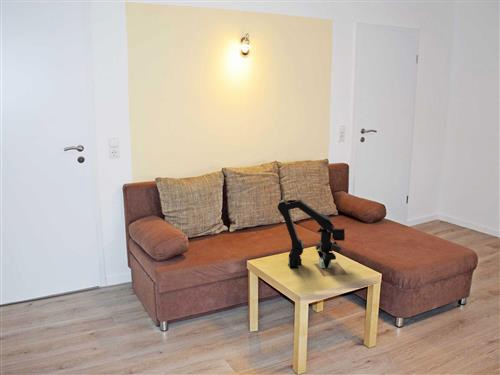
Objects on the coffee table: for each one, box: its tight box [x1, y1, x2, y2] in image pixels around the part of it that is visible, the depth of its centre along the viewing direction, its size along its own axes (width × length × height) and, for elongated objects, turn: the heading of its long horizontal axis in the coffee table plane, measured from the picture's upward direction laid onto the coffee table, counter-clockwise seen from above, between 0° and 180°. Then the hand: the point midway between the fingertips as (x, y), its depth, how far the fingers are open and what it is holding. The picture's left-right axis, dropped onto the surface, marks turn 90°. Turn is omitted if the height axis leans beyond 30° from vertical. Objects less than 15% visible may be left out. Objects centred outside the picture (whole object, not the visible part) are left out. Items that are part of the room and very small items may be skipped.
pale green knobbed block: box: [318, 257, 332, 268], centre depth 250 cm, size 6×6×4 cm
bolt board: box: [313, 261, 349, 277], centre depth 247 cm, size 14×18×4 cm
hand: (324, 266), depth 251 cm, fingers closed on pale green knobbed block, 6 cm apart
